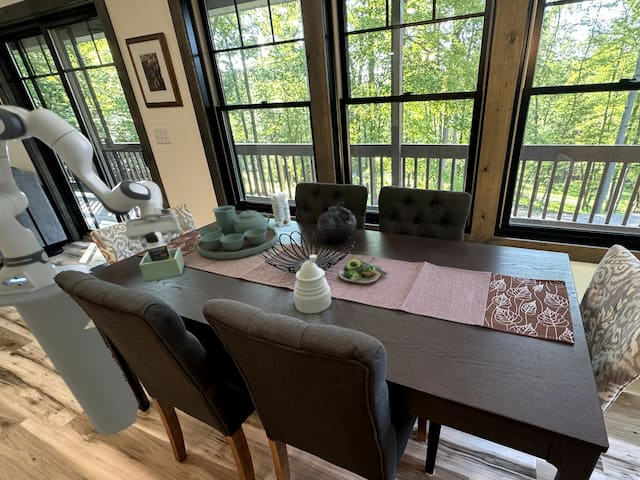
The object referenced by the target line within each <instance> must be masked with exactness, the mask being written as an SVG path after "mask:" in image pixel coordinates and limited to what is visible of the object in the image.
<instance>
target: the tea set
mask: <svg viewBox="0 0 640 480" xmlns="http://www.w3.org/2000/svg"><path fill="white" fill-rule="evenodd" d="M212 212H213V213H214V217H215V221H216V225H212V226H207V227H203V228H201V229H199V230H198V231H197V232H198V234H199V235H200V237H199V241H198V242H197V244H196V245H195V246H196V249H197V250H198V251H199V254H201V255H202V257H204V258H209V259H214V260H229V259H230V260H231V259H240V258H244V257H248V256H252V255H257V254H259V253H261V252H263V251H266V250H269V249H270V248H272V247H274V245H275V244H276V242H277V241H278V239H279V234H278V233H277V230H276V229H275V228H274V227H270V226H269V224H270V221H271V218H270V215H269V214H268V213H267V212H261V213H259V212H258V211H256V210H251V209H247V210H244V211H242V212H240V213H239V214H238V215H239V216H238V217H237V214H236V207H235V206H234V205H221V206H218V207H215V208H213V209H212ZM264 215H265V216H264ZM271 245H272V246H271Z"/></svg>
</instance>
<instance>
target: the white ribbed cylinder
mask: <svg viewBox="0 0 640 480" xmlns="http://www.w3.org/2000/svg"><path fill="white" fill-rule="evenodd" d="M270 200H271V201H270V202H271V206H272V212H273V218H274V222H275V224H276V226H277V227H279V228H283V227H286V226H290V225H291V222H292V221H291V219H292V218H291V213H290V205H289V199H288V196H287V194H286V193H285V192H284V191H279V192H273V193H270Z"/></svg>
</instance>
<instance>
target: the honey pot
mask: <svg viewBox="0 0 640 480" xmlns="http://www.w3.org/2000/svg"><path fill="white" fill-rule="evenodd" d="M317 260H318V255H317V254H310V255H309V260H306V261H304V262H303V263H302V264H301V266H300V268H299V270H298V271H297V272H296V274H295V279H296V281H295V284H294V290H293V299H294V306H295V308H296V310H297V311H299V312H301V313H304V314H317V313H320V312H323V311H325V310H327V309H328V308H329V307H330V306H331V304H332V294H331V287H330V286H329V284H328V281H327V278H326V277H325V275H326V272H325V270H324V269H322V267H321V268H320V267H319V266H318V265H317V264H316V263H315V262H317Z"/></svg>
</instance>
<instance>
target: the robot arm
mask: <svg viewBox="0 0 640 480" xmlns="http://www.w3.org/2000/svg"><path fill="white" fill-rule="evenodd" d="M33 137H34V138H37V139H39V140H40V141H41V142H43V143H44V144H45V145H47V146H48V147H49V148H50V149H51V150H53V151H54V152H55V154H57V155H58V156H59V157H60V158H61V160H62V161H63V163H65V165H66V167H67V169H68V170H69V172H70V173H71V174H72V175H73V176H74V177H75V179H77V180H78V181H79V182H80V183H81V184H82V185H83V186H84V187H85V188H86V189H87V190H88V191H89V192H90V193H91V194H92V195H93V196H94V197H95V198H96V199H97V200H98V201H99V202H100V204H101V205H102V206H103V208H104V209H105V210H106V211H107V212H108V213H110V214H111V215H115V216H120V217H122V216H123V217H124V216H127V215H128V214H129V213H130V212H131V211H132V210H133V209H134V208H135V207H138V208H139V214H140V217H136V218H129V220H127V221H126V222H125V228H126V229H125V235H126V238H128V239H129V240H131V241H138V242H139V243H140V247H141V248H147V242H146V241H144V239H145V235H146V234H148V233H150V232H160V233H161V235H162V237H164V236H167V237H166V238H164V240H165V243H166V244H167V245H169V244H171V240H172V238H173V235H177V234H180V233H181V232H182V231H183V230H182V226H181V222H180V221H179V220H178V217H177V215H176V213H175V211H173V209H171V208H164V207H163V204H164V200H163V193H162V192H161V191H162V190H161V188H160V187H159V185H158V183H155V182H153V181H151V180H142V181H135V180H130V179H125V180H122V181H121V182H119V183H118V184H117V185H116V186H115V187H114V188H113V189H110V188H109V186H107V184H106V183H105V182H104V181H103V180H101V179H100V177H98V176H97V174H96V173H95V171H94V169H93V156H94V150H93V149H94V148H93V146H92V144H91V142H90V141H89V139H88V138H86V137H85V135H83V134H82V133H81V132H80V131H79V130H78V129H76V128H75V126H73V125H72V124H70V123H69V122H68V121H66V119H64V118H63V117H61V116H60V115H58V114H57V113H55V112H53V111H52V110H50V109H47V108H42V107H41V108H36V109H33V110H30V109H28V108H25V107H22V106H19V105H10V104H0V252H1V254H2V255H3V257H1V258H0V264H2V263H3V267H2V268H1V269H0V296H4V295H14V294H23V293H31V292H34V291H36V290H38V289H40V288H43V287H46V286H49V285H51V284H53V283H55V281H54V279H53V278H54V277H55V275H57V274H58V273H59V272H58V271H57V270H56V269H55V267H56V266H55V265H54V264H52V262H51V261H50V258H49V256H48V254H47V253H46V251H45V249H44V248H43V247H41V244H40V243H39V241H38V239H37V237H36V236H35V234H34V232H33V231H32V230H30V229H29V228H26V227H24V226H23V225H22V224H21V223H20V222H19V221H18V220H17V218H16V217H17V216H19V215H21V214H23V213H24V211H25V210H26V209H27V208H28V206H29V199H28V197H27V195H26V194H25V193H24V192H22V191H20V189H19V187H18V185H17V183H16V180H15V179H14V176H13V172H12V167H11V166H12V165H11V162H10V157H9V151H8V143H9V141H21V140H25V139H29V138H33Z"/></svg>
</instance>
